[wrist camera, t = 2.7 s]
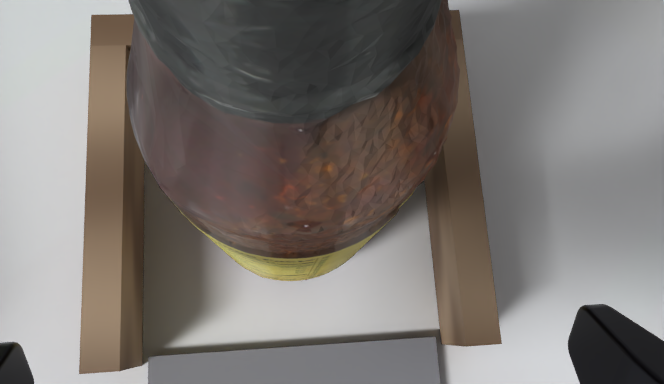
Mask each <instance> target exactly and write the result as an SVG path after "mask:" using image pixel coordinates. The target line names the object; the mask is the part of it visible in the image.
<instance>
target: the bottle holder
mask: <svg viewBox="0 0 664 384" xmlns="http://www.w3.org/2000/svg"><path fill="white" fill-rule="evenodd" d="M449 11H450V13H451V16H452V21H451V25H452V28H453V31H454V36H455V41H456V45H457V62H458V65H459V68H460V78H459V87H458V103H457V106H456V110H455V113H454V117H453V121H452V123H451V126H450V128H449V130H448V135H447V140H446V141H445V143H444V144H443V146H442V149H441V152H440V153H439V155H438V158H437V161H436V164H435V165H434V166H433V167H432V169H431V170H430V171H429V172H428V173H427V175H426V177H425V179H424V182H425V191H426V201H427V210H428V220H429V230H430V239H431V249H432V258H433V268H434V277H435V287H436V296H437V306H438V316H439V325H440V335H441V344H444V345H456V346H478V345H492V344H502V343H501V335H500V327H499V319H498V311H497V304H496V296H495V288H494V280H493V272H492V264H491V257H490V249H489V241H488V233H487V225H486V217H485V210H484V202H483V194H482V186H481V178H480V170H479V163H478V155H477V147H476V139H475V131H474V123H473V116H472V108H471V100H470V92H469V84H468V76H467V69H466V61H465V53H464V45H463V37H462V29H461V22H460V14H459V10H449ZM133 25H134V15H133V14H125V15H92V16H91V45H90V74H89V104H88V133H87V162H86V191H85V220H84V250H83V279H82V308H81V337H80V366H79V374H85V373H99V372H113V371H122V370H126V369H130V368H134V367H138V366H142V352H143V254H144V158H143V156H142V153H141V151H140V148H139V146H138V143H137V141H136V138H135V136H134V132H133V128H132V124H131V120H130V114H129V108H128V102H127V92H126V74H127V65H128V60H129V55H130V50H131V42H132V34H133Z"/></svg>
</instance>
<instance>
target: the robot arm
mask: <svg viewBox="0 0 664 384" xmlns="http://www.w3.org/2000/svg"><path fill="white" fill-rule="evenodd" d="M568 350H569V354H570V357H571V360H572V363H573V365H574V368H575V371H576V374H577V376H578V379H579V382H580V384H664V341H663V340H661V339H660V338H658V337H657V336H655V335H654V334H652V333H650V332H649V331H647V330H646V329H644V328H643V327H641V326H639V325H638V324H636V323H635V322H633V321H632V320H630V319H629V318H627V317H625V316H624V315H622V314H621V313H619V312H618V311H616V310H615V309H613V308H611V307H610V306H608V305H604V304H596V305H584V306H582V307H580V309H579V310H578V312H577V315H576V318H575V321H574V324H573V327H572V330H571V333H570V336H569V340H568ZM0 384H34V379H33V375H32V373H31V370H30V367H29V365H28V362H27V360H26V357H25V354H24V352H23V349H22V347H21V346H20V345H19V344H18V343H16V342H5V343H0Z"/></svg>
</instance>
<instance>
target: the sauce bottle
mask: <svg viewBox="0 0 664 384" xmlns="http://www.w3.org/2000/svg"><path fill="white" fill-rule="evenodd" d="M129 3H130V7H131V10H132V12H133V15H134V25H133V34H132V42H131V50H130V55H129V60H128V65H127V74H126V92H127V102H128V108H129V114H130V120H131V124H132V128H133V132H134V136H135V138H136V141H137V143H138V146H139V148H140V151H141V153H142V156H143V158H144V160H145V162H146V164H147V166H148V167H149V169H150V171H151V173H152V174H153V176H154V178H155V179H156V181H157V183H158V185H159V186H160V188H161V189H162V190H163V192H164V193H165V194H166V195H167V196H168V197H169V199H170V200H171V201H172V202H173V203H174V205H175V206H176V207H177V208H178V209H179V211H180V212H181V213H182V214H183V215H184V216H185V217H186V218H187V219H188V220H189V221H190V222H191V223H192V224H193V225H194V226H195V227H196V228H198V229H199V230H200V231H201V232H203V233H204V234H205V235H206V236H207V237H208V238H210V239H211V240H212V241H213V242H214V243H215V244H216V245H218V246H219V247H220V248H221V249H222V250H224V251H225V252H226V253H227V254H228V255H229V256H230V257H231V258H232V259H234V260H235V261H236V262H237V263H238V264H240V265H241V266H242V267H244V268H245V269H247V270H249V271H251V272H253V273H255V274H257V275H259V276H260V277H264V278H269V279H274V280H282V281H299V280H306V279H311V278H315V277H318V276H321V275H324V274H326V273H328V272H330V271H332V270H334V269H336V268H338V267H339V266H341V265H342V264H344V263H345V262H346V261H347V260H349V259H350V258H351V257H352V256H354V255H355V253H356V252H357V251H358V250H360V249H361V248H362V247H363V246H364V245H365V244H366V243H367V242H368V241H369V240H370V239H371V238H372V237H373V236H374V235H375V234H376V233H378V232H379V231H380V230H381V229H382V228H383V227H384V226H385V225H386V224H387V223H388V222H389V221H390V220H391V219H392V218H393V217H394V216H395V215H396V214H397V212H398V211H399V208H400V207H401V206H402V205H403V204H404V203H405V202H406V201H407V200H408V199H409V197H410V196H411V195H412V194H413V192H414V191H415V189H416V187H417V186H419V185H420V184H421V183H422V182H423V181H424V179H425V177H426V175H427V173H428V172H429V171H430V170H431V169H432V167H433V166H434V165H435V164H436V161H437V158H438V155H439V153H440V152H441V149H442V146H443V144H444V143H445V141H446V140H447V135H448V130H449V128H450V126H451V123H452V121H453V117H454V113H455V110H456V106H457V103H458V87H459V78H460V68H459V65H458V62H457V45H456V41H455V36H454V31H453V28H452V25H451V21H452V16H451V13H450V11H449V8H448V0H129Z"/></svg>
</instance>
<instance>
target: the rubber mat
mask: <svg viewBox="0 0 664 384" xmlns="http://www.w3.org/2000/svg"><path fill="white" fill-rule="evenodd" d="M148 384H440V374H439V365H438V355H437V345H436V337H422V338H407V339H393V340H378V341H364V342H349V343H335V344H321V345H306V346H292V347H277V348H263V349H248V350H234V351H219V352H205V353H190V354H176V355H161V356H150V357H149V359H148Z"/></svg>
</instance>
